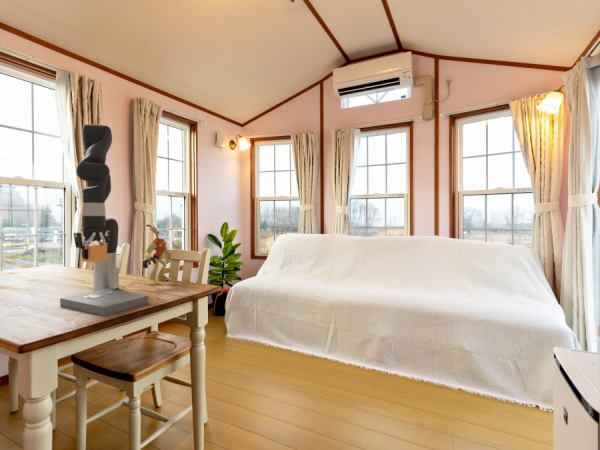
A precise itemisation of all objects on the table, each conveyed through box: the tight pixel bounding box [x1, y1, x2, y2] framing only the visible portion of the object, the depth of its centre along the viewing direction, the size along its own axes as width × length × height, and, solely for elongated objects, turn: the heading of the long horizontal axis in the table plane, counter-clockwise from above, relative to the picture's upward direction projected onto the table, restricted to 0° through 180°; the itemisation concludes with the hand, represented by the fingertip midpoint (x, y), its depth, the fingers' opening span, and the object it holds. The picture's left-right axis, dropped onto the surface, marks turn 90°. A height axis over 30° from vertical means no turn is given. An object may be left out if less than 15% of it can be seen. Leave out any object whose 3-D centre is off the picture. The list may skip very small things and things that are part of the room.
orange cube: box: [81, 244, 107, 264], centre depth 124 cm, size 6×6×6 cm
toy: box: [142, 224, 173, 286], centre depth 163 cm, size 23×9×30 cm, turn 171°
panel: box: [59, 289, 149, 317], centre depth 125 cm, size 18×26×4 cm
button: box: [88, 295, 102, 299], centre depth 125 cm, size 3×3×3 cm
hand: (94, 258), depth 124 cm, fingers closed on orange cube, 6 cm apart
